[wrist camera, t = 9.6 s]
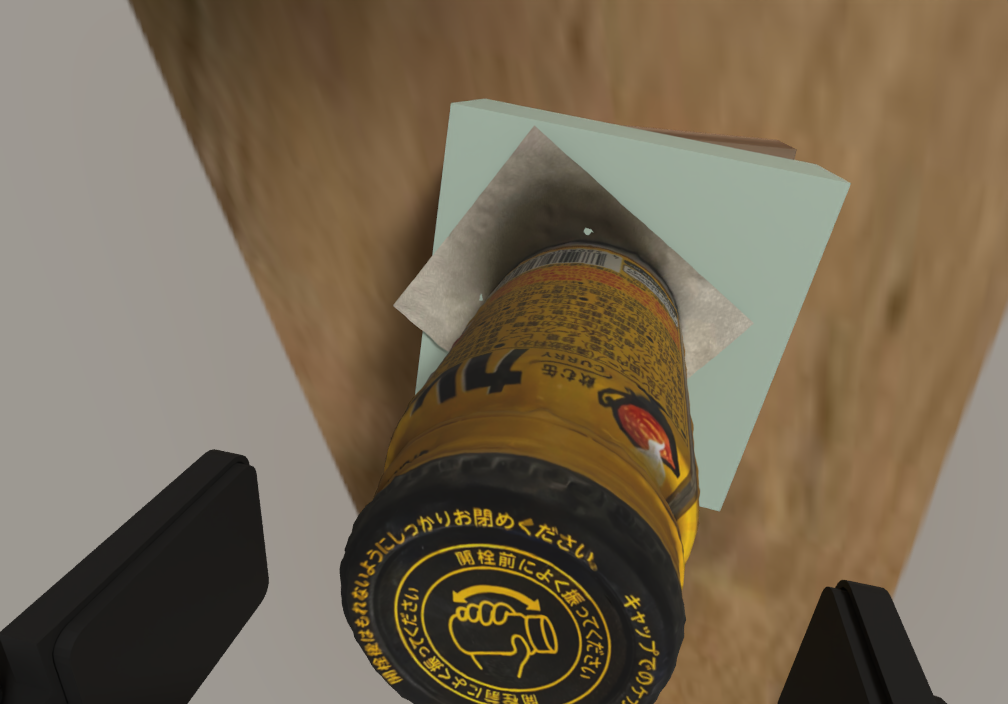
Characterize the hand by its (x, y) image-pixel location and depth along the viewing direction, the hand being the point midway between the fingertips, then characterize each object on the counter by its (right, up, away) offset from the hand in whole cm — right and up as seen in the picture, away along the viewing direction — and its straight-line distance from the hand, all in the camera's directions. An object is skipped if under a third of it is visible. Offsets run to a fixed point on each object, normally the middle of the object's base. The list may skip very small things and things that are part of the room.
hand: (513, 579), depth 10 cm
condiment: (+2, +5, +9) cm, 11 cm away
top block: (+4, +6, +13) cm, 15 cm away
